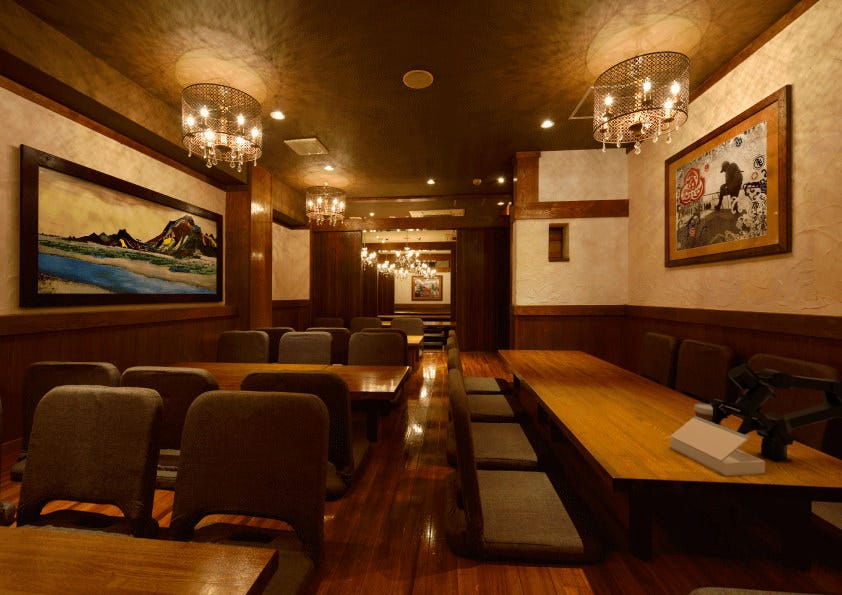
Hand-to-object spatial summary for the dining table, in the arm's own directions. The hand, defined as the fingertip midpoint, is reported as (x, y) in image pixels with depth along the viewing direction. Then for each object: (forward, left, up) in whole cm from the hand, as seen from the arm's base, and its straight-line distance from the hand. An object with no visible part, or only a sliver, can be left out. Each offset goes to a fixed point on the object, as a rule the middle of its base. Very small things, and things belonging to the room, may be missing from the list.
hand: (724, 431), depth 130 cm
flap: (+6, 0, -2) cm, 6 cm away
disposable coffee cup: (-12, -19, -10) cm, 25 cm away
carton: (+4, 0, -9) cm, 10 cm away
